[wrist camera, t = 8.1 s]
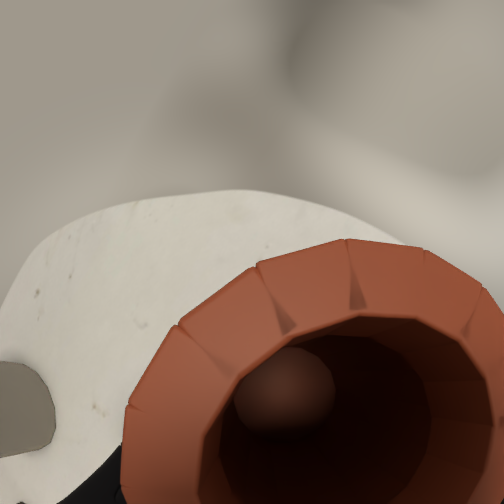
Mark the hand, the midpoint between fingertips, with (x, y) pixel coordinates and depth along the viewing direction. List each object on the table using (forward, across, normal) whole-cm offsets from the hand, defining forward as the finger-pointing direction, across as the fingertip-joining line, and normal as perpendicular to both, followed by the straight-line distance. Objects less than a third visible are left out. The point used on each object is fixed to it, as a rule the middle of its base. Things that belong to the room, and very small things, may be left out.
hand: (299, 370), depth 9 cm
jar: (+4, 0, +6) cm, 7 cm away
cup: (+6, +23, +12) cm, 27 cm away
